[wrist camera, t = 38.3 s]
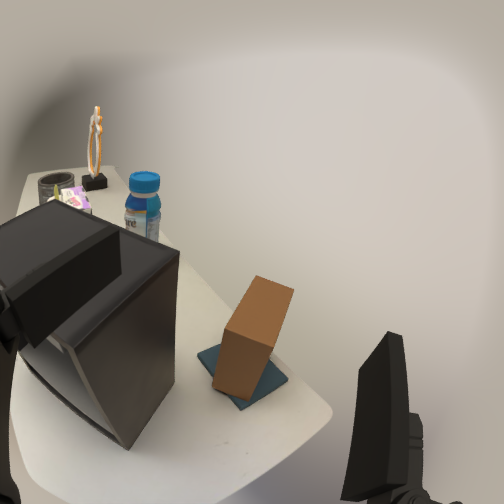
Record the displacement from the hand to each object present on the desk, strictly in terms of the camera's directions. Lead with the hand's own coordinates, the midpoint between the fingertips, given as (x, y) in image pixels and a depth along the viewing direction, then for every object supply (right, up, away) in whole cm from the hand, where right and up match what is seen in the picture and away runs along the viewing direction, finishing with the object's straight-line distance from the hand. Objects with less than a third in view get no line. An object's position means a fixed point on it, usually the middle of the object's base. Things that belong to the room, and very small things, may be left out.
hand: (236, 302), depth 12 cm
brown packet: (-1, -17, +30) cm, 34 cm away
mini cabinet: (-23, -17, +22) cm, 36 cm away
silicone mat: (-1, -17, +31) cm, 35 cm away
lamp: (-61, +28, +80) cm, 105 cm away
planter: (-59, +13, +56) cm, 82 cm away
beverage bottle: (-26, +1, +52) cm, 58 cm away
